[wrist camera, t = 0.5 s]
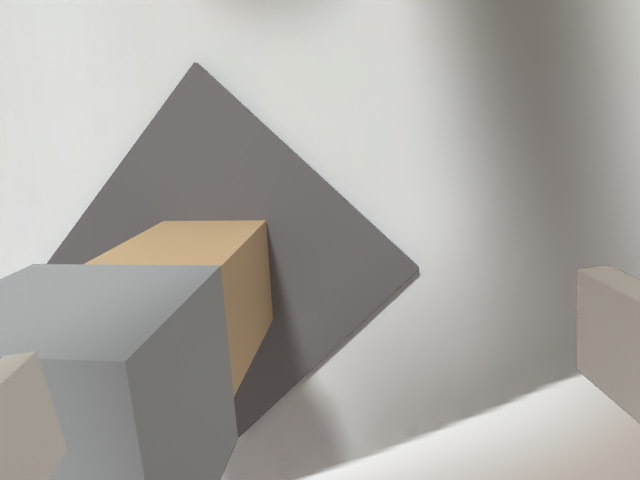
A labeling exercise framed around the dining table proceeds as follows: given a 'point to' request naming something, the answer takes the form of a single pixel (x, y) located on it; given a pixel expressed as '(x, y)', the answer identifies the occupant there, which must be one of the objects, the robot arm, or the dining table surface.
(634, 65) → the dining table surface
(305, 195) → the charcoal mat
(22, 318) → the grey matte cube
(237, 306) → the carton base
